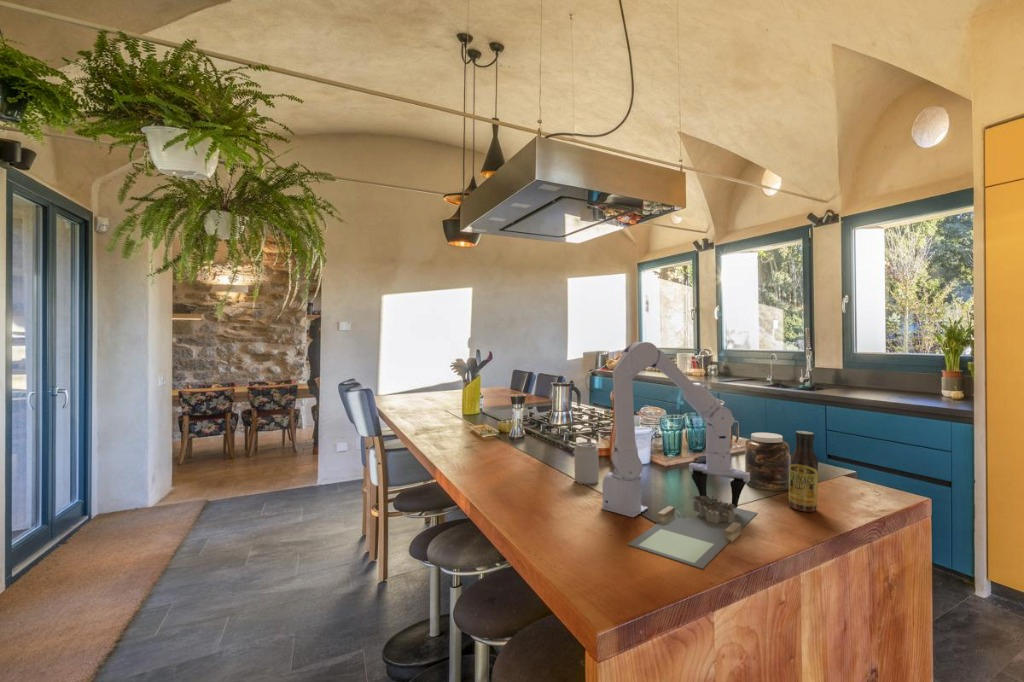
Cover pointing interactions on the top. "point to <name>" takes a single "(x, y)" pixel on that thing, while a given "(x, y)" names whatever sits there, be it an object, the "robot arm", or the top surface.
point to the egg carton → (713, 509)
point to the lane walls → (730, 532)
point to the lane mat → (689, 538)
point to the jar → (767, 462)
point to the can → (586, 463)
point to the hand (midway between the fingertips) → (718, 504)
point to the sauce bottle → (803, 474)
